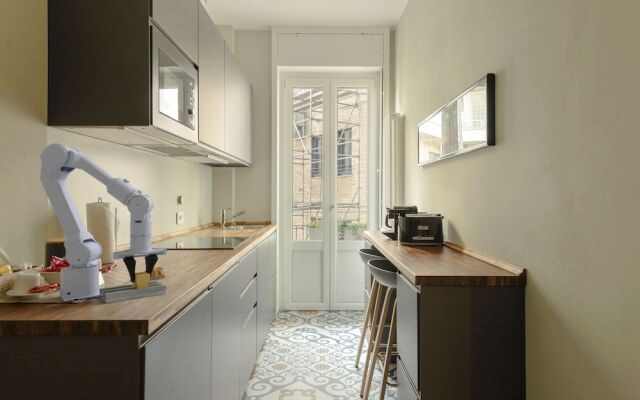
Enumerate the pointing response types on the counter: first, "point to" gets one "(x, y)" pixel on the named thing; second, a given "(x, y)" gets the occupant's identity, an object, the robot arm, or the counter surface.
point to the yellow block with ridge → (142, 279)
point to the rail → (130, 292)
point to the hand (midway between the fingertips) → (140, 281)
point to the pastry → (157, 274)
